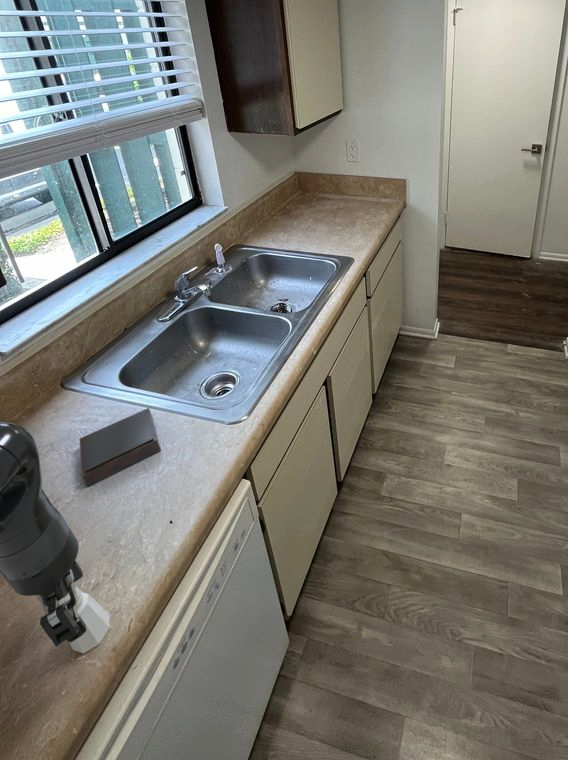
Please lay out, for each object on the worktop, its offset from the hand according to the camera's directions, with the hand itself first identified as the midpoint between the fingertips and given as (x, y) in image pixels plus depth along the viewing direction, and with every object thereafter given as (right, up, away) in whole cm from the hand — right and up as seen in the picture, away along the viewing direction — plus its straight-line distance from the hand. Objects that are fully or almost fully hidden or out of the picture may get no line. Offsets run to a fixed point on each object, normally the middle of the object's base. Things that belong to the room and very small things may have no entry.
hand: (76, 605), depth 67 cm
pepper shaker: (0, -7, +4) cm, 8 cm away
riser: (-14, +7, +32) cm, 36 cm away
